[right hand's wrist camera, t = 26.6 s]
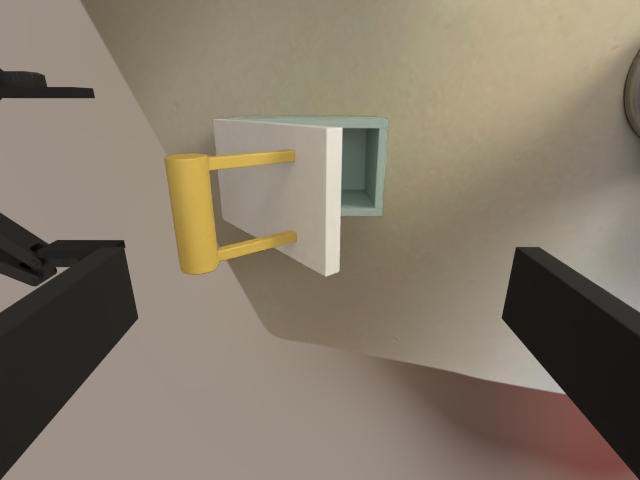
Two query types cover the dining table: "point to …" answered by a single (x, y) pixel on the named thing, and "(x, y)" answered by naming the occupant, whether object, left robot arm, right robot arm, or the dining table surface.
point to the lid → (261, 194)
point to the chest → (352, 158)
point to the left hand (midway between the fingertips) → (102, 176)
